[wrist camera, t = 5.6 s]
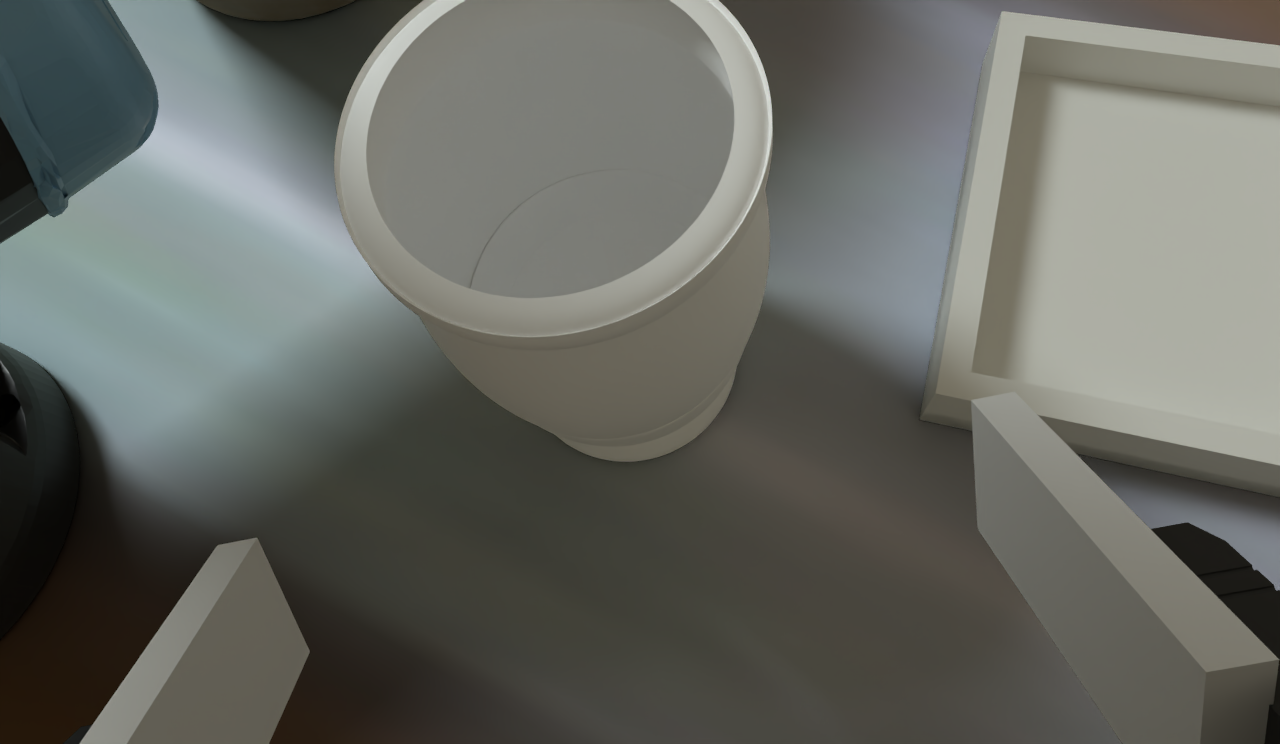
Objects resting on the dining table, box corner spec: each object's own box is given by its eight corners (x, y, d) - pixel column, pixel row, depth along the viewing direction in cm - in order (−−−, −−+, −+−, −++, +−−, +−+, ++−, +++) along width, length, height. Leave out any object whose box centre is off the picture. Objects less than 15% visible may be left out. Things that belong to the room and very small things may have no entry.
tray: (1417, 527, 29) (1490, 509, 26) (919, 419, 32) (935, 393, 29) (1414, 121, 33) (1476, 69, 31) (982, 63, 37) (1001, 11, 34)
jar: (491, 259, 36) (327, -13, 22) (738, 216, 36) (731, -93, 22) (511, 511, 32) (329, 375, 18) (788, 468, 32) (819, 293, 18)
